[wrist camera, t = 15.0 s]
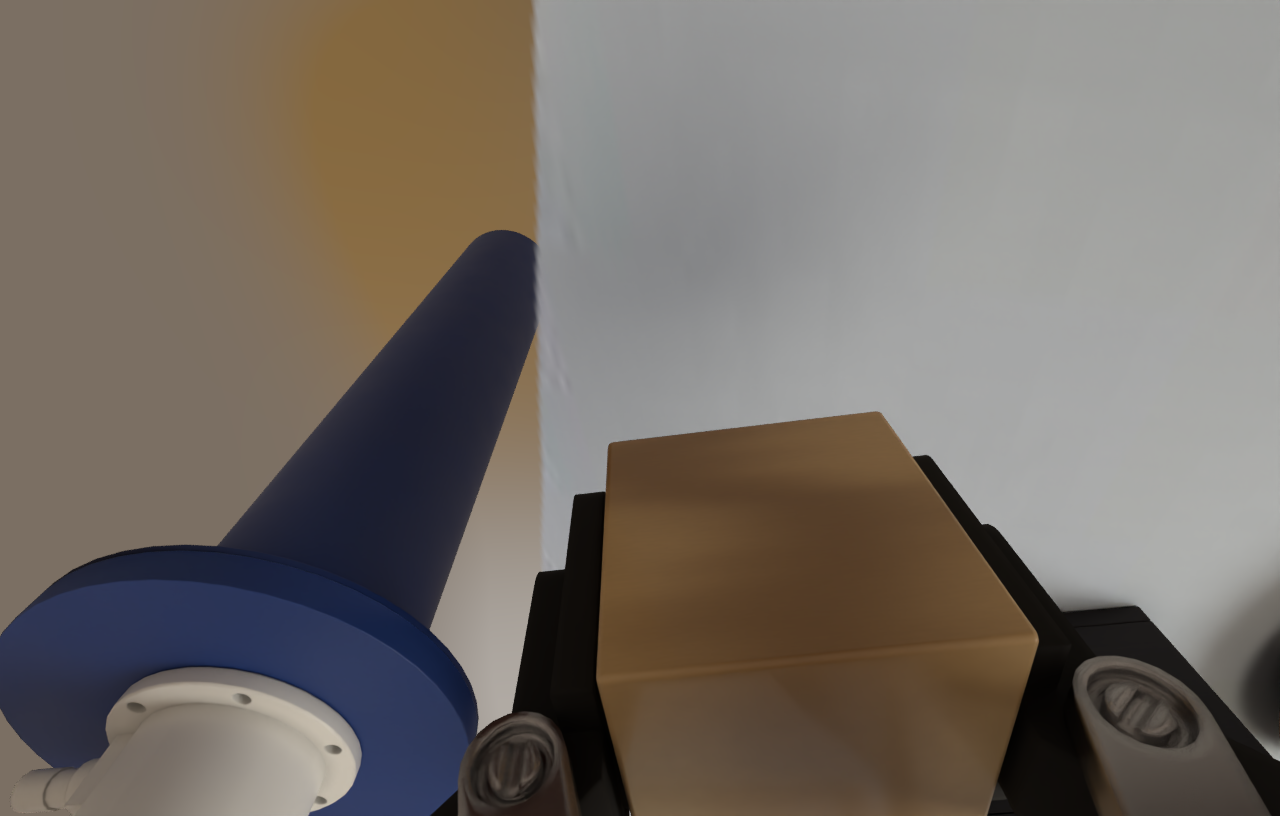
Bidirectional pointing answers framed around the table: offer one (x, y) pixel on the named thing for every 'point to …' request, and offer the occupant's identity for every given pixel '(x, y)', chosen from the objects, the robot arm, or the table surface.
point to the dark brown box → (1145, 642)
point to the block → (800, 628)
